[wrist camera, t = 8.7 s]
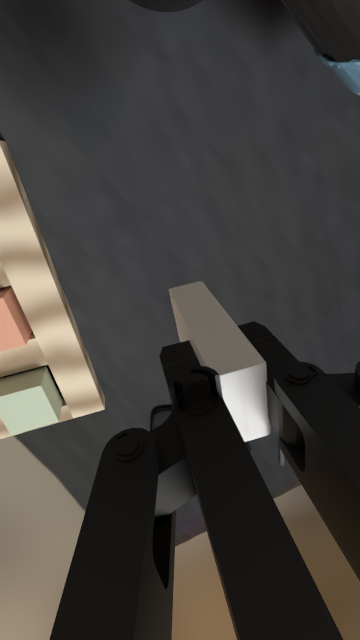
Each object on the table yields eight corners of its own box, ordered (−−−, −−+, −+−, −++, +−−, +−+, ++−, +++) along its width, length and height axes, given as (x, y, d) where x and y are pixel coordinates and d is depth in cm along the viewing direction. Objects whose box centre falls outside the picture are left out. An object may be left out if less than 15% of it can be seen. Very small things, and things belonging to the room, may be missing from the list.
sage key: (-2, 379, 41) (-11, 399, 38) (46, 366, 42) (40, 385, 38) (18, 413, 44) (11, 435, 40) (62, 401, 44) (59, 421, 41)
